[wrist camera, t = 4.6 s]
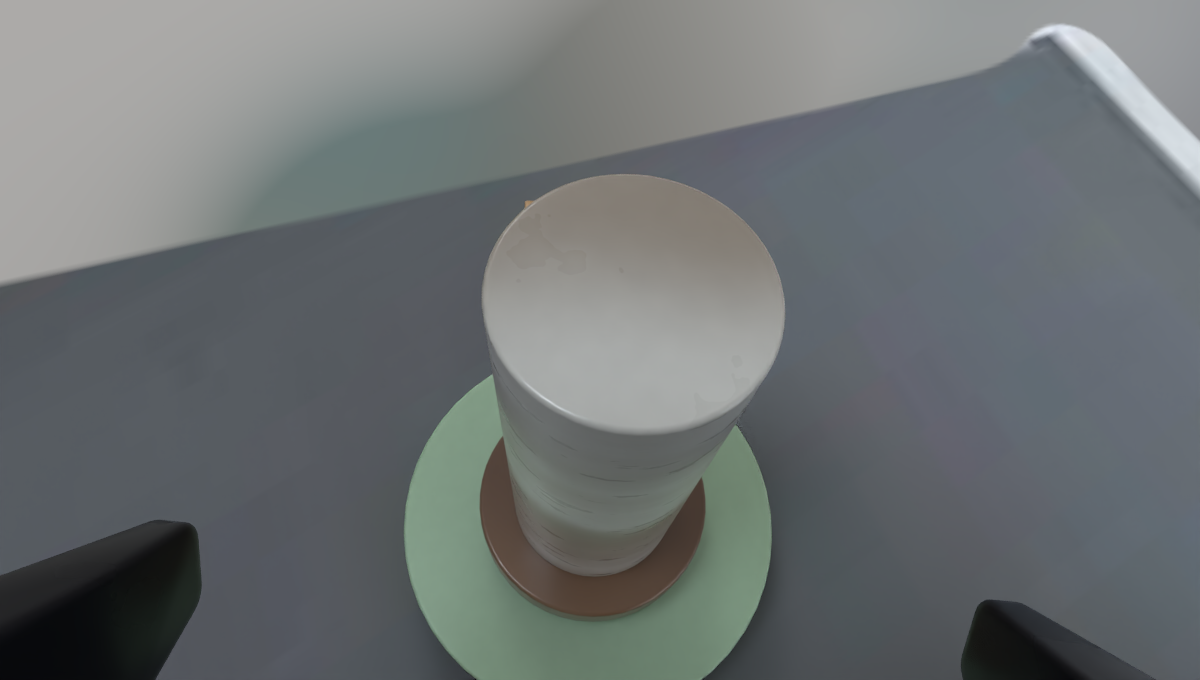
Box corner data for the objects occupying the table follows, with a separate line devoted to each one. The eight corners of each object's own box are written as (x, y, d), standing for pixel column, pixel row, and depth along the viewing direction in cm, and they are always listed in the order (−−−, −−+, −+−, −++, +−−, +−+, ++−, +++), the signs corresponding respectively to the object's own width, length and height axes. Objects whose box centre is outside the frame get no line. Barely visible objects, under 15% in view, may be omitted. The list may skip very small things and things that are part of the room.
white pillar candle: (706, 623, 16) (896, 512, 7) (474, 621, 15) (377, 505, 7) (678, 222, 21) (767, -119, 12) (505, 215, 21) (474, -139, 12)
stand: (776, 717, 17) (796, 718, 15) (391, 718, 16) (377, 719, 15) (739, 374, 21) (752, 351, 19) (434, 366, 20) (426, 342, 19)
